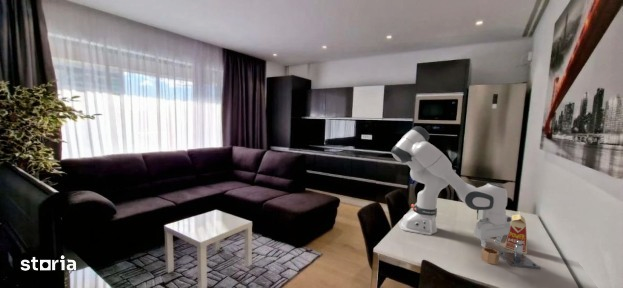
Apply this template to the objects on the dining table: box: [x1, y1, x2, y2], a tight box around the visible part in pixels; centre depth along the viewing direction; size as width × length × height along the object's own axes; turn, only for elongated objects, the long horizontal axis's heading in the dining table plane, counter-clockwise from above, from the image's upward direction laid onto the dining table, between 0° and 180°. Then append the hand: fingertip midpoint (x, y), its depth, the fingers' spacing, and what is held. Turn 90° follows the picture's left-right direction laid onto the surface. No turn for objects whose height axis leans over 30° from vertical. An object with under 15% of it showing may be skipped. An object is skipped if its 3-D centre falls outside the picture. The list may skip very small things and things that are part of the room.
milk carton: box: [503, 211, 528, 255], centre depth 133 cm, size 9×9×20 cm
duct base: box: [497, 240, 541, 270], centre depth 122 cm, size 12×12×10 cm
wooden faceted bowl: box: [480, 246, 500, 265], centre depth 121 cm, size 7×7×5 cm
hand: (490, 245), depth 120 cm, fingers open, 8 cm apart
